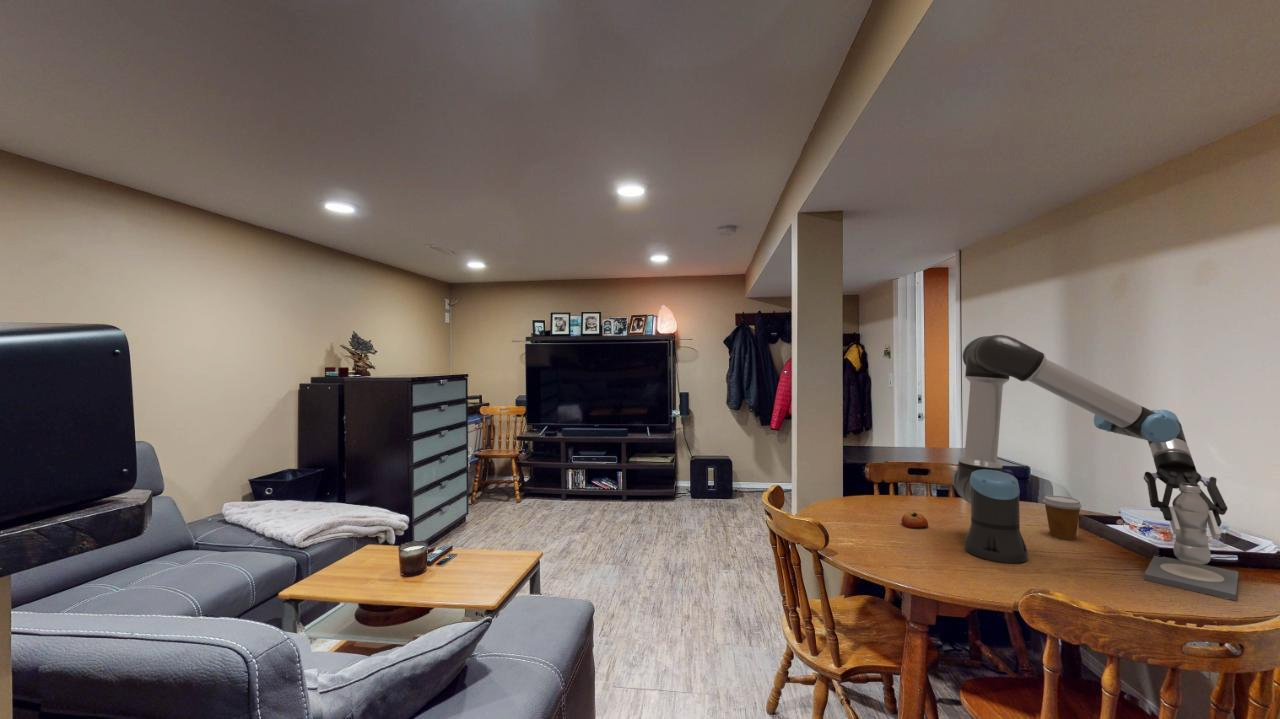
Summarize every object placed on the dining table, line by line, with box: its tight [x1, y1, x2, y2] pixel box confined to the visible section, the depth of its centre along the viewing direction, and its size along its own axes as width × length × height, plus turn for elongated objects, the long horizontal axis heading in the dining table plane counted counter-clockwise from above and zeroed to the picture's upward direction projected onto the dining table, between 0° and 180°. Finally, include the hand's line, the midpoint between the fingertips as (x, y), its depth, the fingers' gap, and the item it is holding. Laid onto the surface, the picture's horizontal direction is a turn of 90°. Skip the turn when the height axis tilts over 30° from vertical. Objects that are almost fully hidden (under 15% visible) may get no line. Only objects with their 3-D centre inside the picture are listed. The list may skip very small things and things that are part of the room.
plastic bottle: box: [1172, 483, 1212, 565], centre depth 127 cm, size 6×7×20 cm
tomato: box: [901, 511, 929, 529], centre depth 171 cm, size 8×7×7 cm
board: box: [1143, 554, 1239, 602], centre depth 127 cm, size 20×15×2 cm
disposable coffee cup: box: [1042, 495, 1083, 540], centre depth 159 cm, size 10×10×12 cm
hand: (1196, 534), depth 124 cm, fingers closed on plastic bottle, 6 cm apart
